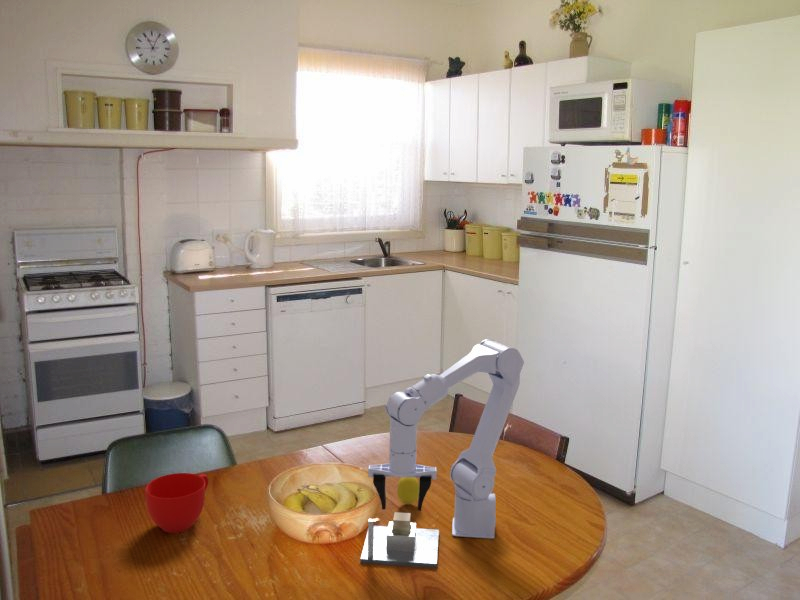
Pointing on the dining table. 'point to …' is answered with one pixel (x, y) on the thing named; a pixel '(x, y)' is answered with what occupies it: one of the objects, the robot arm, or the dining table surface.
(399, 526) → the block
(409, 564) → the stand
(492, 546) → the dining table surface
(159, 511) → the ceramic cup
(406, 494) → the lemon
